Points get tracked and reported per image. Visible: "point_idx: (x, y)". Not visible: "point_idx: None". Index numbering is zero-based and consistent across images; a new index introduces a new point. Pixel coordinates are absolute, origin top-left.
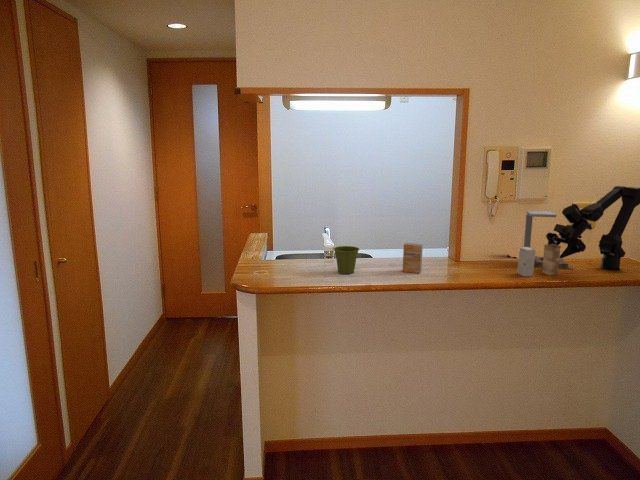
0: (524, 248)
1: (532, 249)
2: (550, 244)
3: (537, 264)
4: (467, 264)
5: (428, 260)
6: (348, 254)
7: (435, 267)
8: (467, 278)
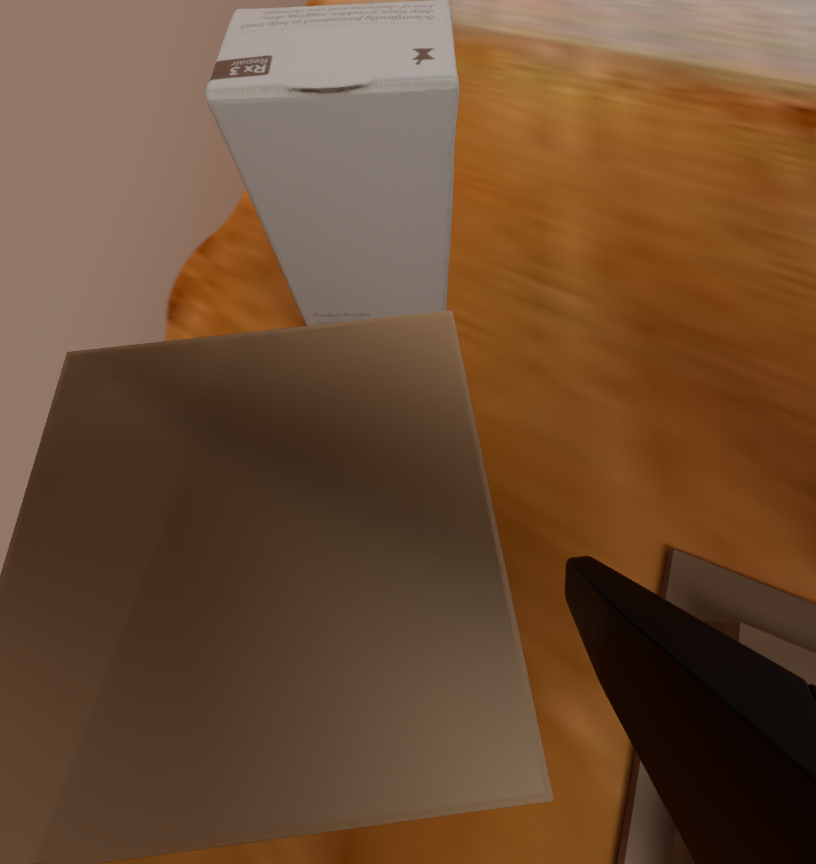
0: (341, 7)
1: (239, 60)
2: (440, 546)
3: None
4: (715, 138)
5: (790, 22)
6: None
7: (612, 18)
8: None
